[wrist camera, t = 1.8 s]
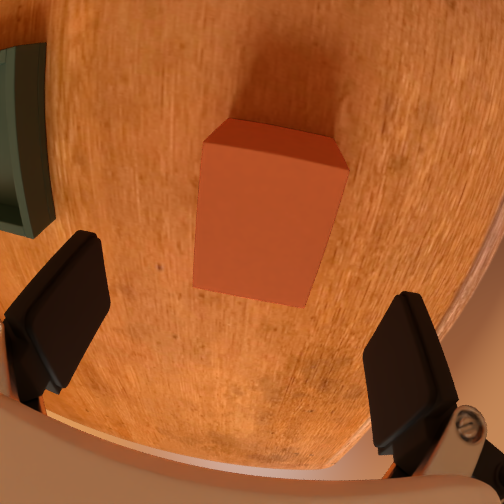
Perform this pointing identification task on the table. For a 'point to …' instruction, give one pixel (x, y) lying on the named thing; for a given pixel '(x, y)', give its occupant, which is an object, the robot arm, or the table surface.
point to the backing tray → (24, 142)
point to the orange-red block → (265, 210)
